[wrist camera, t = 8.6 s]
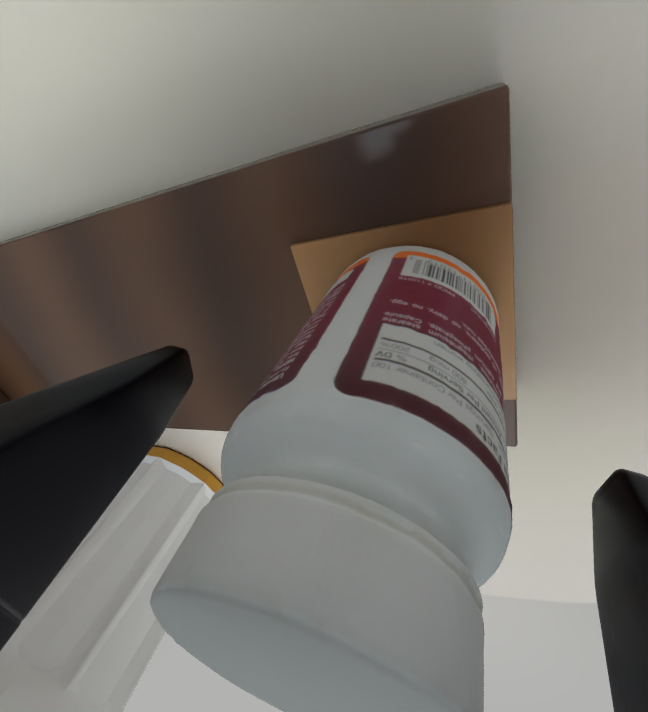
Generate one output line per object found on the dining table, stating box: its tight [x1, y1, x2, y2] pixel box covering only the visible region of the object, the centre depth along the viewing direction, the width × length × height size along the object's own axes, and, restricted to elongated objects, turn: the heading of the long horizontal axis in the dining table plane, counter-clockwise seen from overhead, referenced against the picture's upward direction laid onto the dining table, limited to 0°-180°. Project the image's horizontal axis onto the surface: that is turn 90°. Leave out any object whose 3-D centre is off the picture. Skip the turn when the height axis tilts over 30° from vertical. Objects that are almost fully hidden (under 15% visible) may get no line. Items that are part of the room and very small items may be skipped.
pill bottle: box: [150, 246, 512, 712], centre depth 8 cm, size 5×5×8 cm
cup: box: [0, 446, 224, 712], centre depth 22 cm, size 11×11×17 cm
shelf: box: [0, 82, 517, 447], centre depth 16 cm, size 29×10×5 cm, turn 107°
